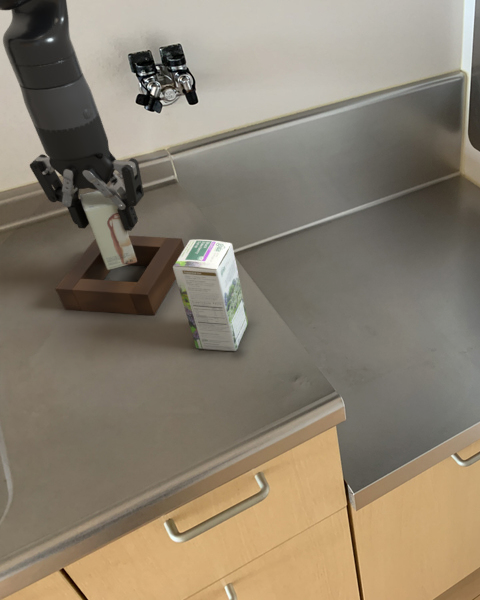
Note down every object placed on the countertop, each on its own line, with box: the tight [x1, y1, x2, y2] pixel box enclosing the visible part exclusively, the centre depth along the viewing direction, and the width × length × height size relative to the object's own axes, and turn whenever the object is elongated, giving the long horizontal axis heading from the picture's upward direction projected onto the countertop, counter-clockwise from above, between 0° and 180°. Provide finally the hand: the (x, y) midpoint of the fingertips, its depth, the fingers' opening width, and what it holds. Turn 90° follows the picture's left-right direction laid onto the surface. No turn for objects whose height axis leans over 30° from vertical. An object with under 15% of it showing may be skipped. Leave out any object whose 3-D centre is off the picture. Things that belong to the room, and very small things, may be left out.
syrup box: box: [173, 239, 249, 352], centre depth 80 cm, size 6×6×14 cm
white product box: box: [79, 190, 137, 271], centre depth 87 cm, size 5×4×10 cm
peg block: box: [54, 235, 185, 316], centre depth 92 cm, size 14×14×4 cm
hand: (107, 226), depth 87 cm, fingers closed on white product box, 6 cm apart
